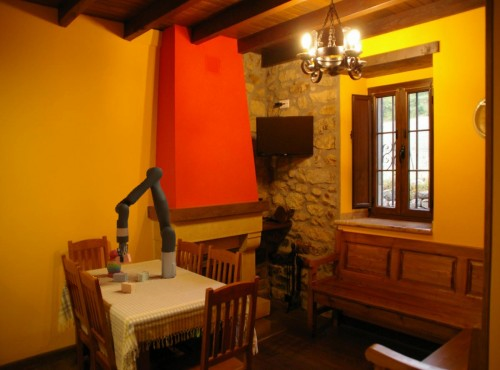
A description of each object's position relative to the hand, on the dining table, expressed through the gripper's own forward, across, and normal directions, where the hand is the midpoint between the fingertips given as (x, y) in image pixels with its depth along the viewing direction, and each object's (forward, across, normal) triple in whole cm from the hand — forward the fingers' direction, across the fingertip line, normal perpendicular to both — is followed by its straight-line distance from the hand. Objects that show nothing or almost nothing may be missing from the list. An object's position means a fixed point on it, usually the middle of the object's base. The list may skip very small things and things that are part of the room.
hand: (122, 261), depth 258 cm
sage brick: (+14, +8, -10) cm, 19 cm away
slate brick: (+14, +5, +4) cm, 16 cm away
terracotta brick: (+1, 0, -1) cm, 1 cm away
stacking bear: (+14, +19, +14) cm, 27 cm away
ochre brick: (+14, -17, -10) cm, 24 cm away
